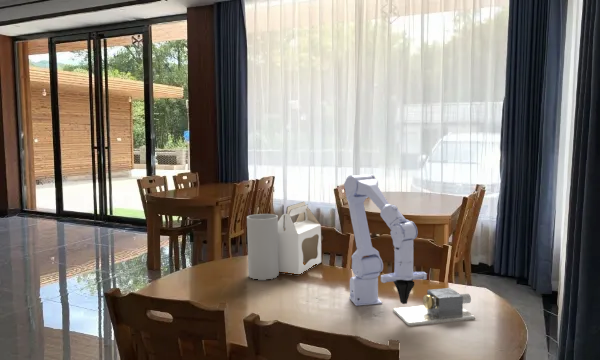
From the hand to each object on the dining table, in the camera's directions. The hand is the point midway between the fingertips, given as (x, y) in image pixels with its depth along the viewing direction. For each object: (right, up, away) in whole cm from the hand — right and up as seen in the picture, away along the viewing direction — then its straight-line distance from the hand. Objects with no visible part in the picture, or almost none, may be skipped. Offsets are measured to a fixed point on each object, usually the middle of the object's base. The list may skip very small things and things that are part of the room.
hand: (403, 302), depth 148 cm
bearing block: (+10, -5, +2) cm, 11 cm away
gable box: (-34, 0, +59) cm, 68 cm away
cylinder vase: (-48, -1, +46) cm, 66 cm away
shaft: (+15, -2, +3) cm, 15 cm away
